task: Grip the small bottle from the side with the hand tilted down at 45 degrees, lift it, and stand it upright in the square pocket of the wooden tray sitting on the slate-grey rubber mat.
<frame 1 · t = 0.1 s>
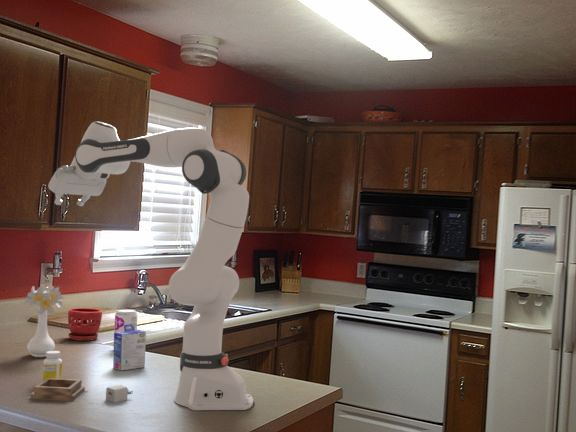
hand: (68, 204, 224), 54 cm above the countertop, tool tilted 30°, fingers open, 8 cm apart
ink cartridge box: (128, 368, 233), on the countertop
usb wall charger: (120, 401, 194), on the countertop
supplement bottle: (51, 385, 207), on the countertop
flower vase: (42, 356, 244), on the countertop
mat: (58, 395, 195), on the countertop
supplement can: (124, 350, 261), on the countertop
wooden tray: (58, 394, 195), resting on mat
plant pot: (84, 339, 278), on the countertop
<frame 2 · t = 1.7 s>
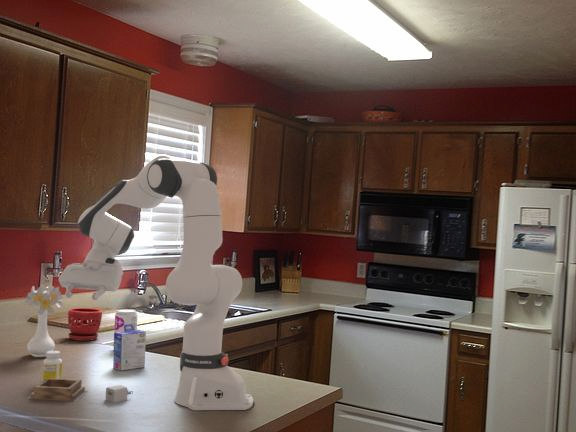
hand: (80, 297, 219), 25 cm above the countertop, tool tilted 45°, fingers open, 8 cm apart
nothing on the countertop moved.
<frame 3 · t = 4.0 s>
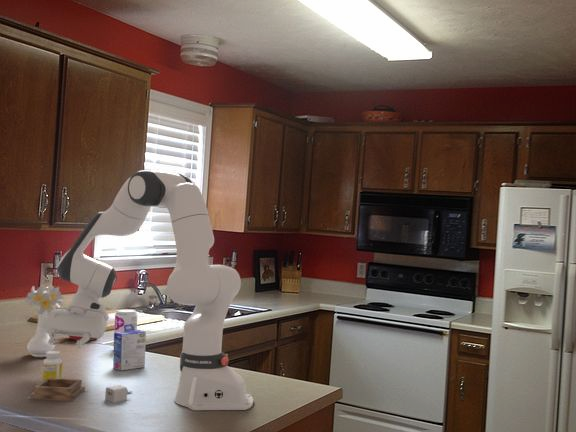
hand: (64, 345, 213), 11 cm above the countertop, tool tilted 45°, fingers open, 8 cm apart
nothing on the countertop moved.
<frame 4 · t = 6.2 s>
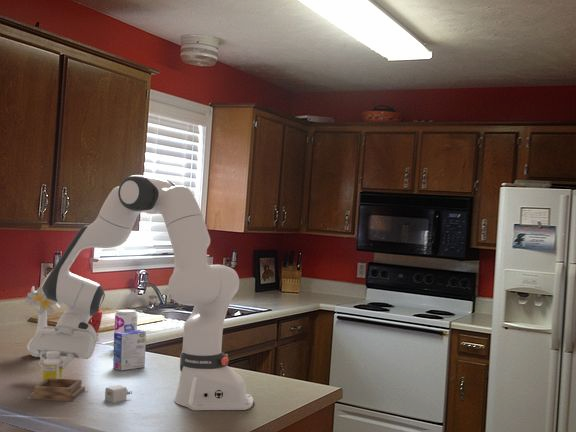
hand: (51, 366, 207), 5 cm above the countertop, tool tilted 45°, fingers closed on supplement bottle, 5 cm apart
supplement bottle: (51, 384, 207), on the countertop, touching gripper
everything else where it was.
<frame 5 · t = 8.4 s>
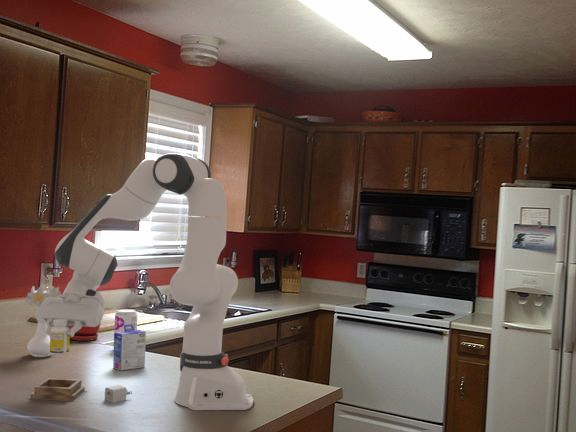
hand: (58, 334, 199), 17 cm above the countertop, tool tilted 45°, fingers closed on supplement bottle, 5 cm apart
supplement bottle: (59, 354, 200), point 11 cm above the countertop, touching gripper
everything else where it was.
when the fingers open (9 cm above the countertop, at t = 10.9 s): supplement bottle drops 1 cm, resting on wooden tray.
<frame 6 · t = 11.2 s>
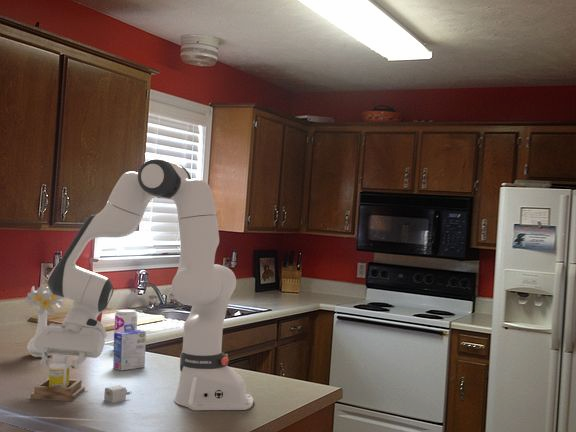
hand: (58, 366, 195), 9 cm above the countertop, tool tilted 45°, fingers open, 8 cm apart
supplement bottle: (58, 391, 195), point 1 cm above the countertop, touching wooden tray
everything else where it was.
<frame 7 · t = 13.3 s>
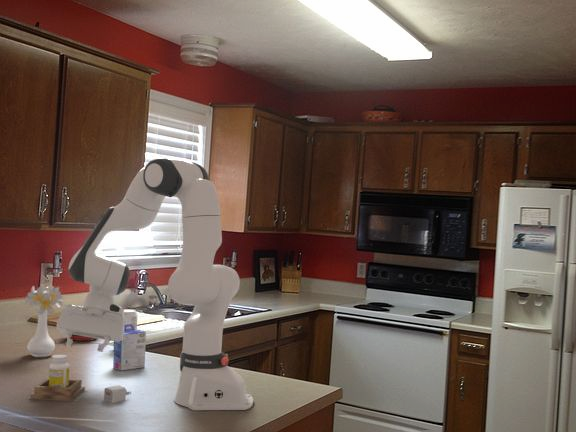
hand: (84, 348, 208), 11 cm above the countertop, tool tilted 40°, fingers open, 8 cm apart
nothing on the countertop moved.
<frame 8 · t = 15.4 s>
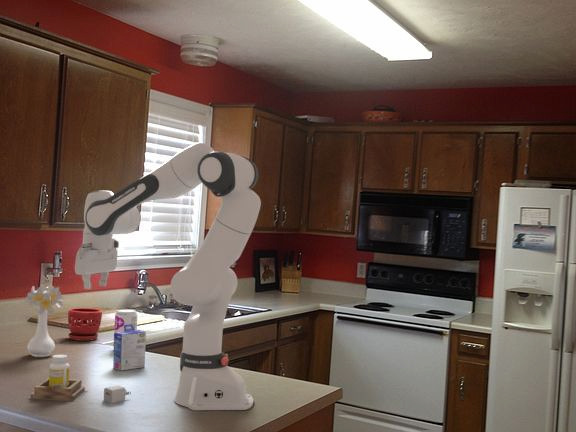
hand: (95, 287, 213), 29 cm above the countertop, tool pointing down, fingers open, 8 cm apart
nothing on the countertop moved.
at the end: supplement bottle 0.1 cm from the wooden tray (horizontally); supplement bottle tilted 0°; the gripper is holding nothing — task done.
